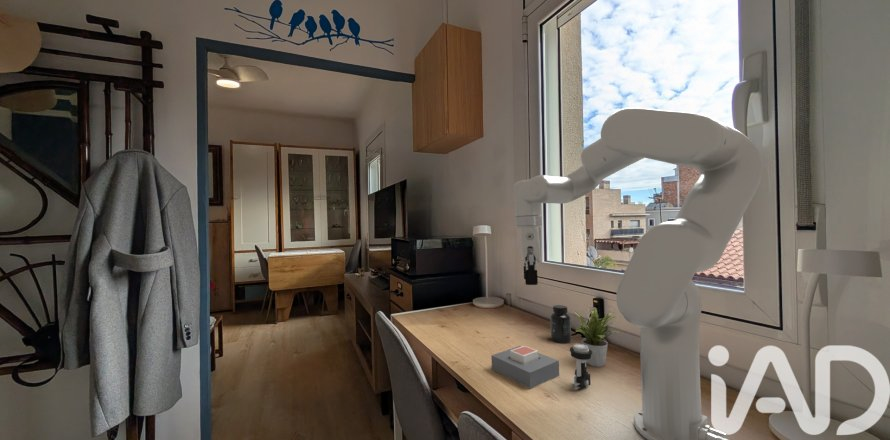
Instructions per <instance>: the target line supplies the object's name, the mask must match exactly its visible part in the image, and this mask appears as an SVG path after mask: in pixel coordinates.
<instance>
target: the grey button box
mask: <svg viewBox="0 0 890 440" xmlns="http://www.w3.org/2000/svg"><path fill="white" fill-rule="evenodd" d="M519 347H522V345H519V346H516V347H512V348H509V349H507V350H503V351H501V352H497V353H494V354H492V355H491V370H493V372H496V373H498V374H501V375H503V376H504V377H506V378H508V379H510V380H512V381H515V382H516V383H518V384H520V385H522V386H524V387H526V388H528V389H533V388H535V387H538V386H540V385H541V384H543V383H546V382H547V381H548V382H549V381H550V380H552V379H554V378H558V377H559V376H560V360H558V359H556V358H553V357H550V356H547V355H545V354H543V353H540V352H538V360H535V361H533V362H530V363H528V364H525V365H524V364H521V363H519V362H517V361H514V360H512V359H510V350H513V349H516V348H519Z"/></svg>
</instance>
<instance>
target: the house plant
mask: <svg viewBox="0 0 890 440" xmlns="http://www.w3.org/2000/svg"><path fill="white" fill-rule="evenodd" d="M588 310H589V312H590V320H589V321H588V322H587V323H586V320H585V319H584V318H583V317H582V315H581V314H579V313H578V312H576V311H575V310H572V312H574V313H575V314H576V315H577V316H578V317H577V316H575V318H576V319H577V320H579V322H580V328H579V327H575V331H574V332H580V333H581V334H582V335H583V336H584V338H583V339H581V344H584V345H587V346H588V348H589V349H590V350H592V354H591V359H588V360H586V365H588V366H589V365H590V366H591V367H596V368H597V367H598V368H600V367H604V366H605V364H606V359H607V352H608V345H609V344H608V343H609V342H607V341H606V340H605V339H606V338H607V337H609V336H611V335H612V334H615V335H617V333H619V331H618V330H617V331H612V330H606V329H607V327H608V326H609V325H611V324H614V323H615V324H616V323H617V322H616V321H612V322H609V321H611V320H612V319H615V318H617V316H612V314H614V311H613V312H610V313H608V314H605V316H604V317H603V318H599V313H598V309H597V308H596V307H595V308H594V309H592V310H591V309H590V308H588ZM607 322H609V323H607ZM607 333H608V334H607ZM605 334H607V335H605Z"/></svg>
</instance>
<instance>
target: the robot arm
mask: <svg viewBox="0 0 890 440" xmlns="http://www.w3.org/2000/svg"><path fill="white" fill-rule="evenodd" d="M643 159H649V160H655V161H658V162H663V163H667V164H672V165H676V166H680V167H685V168H690V169H696V170H697V171H699V175H698V176H699V177H698V179H697V181H696V182H695V183H694V185H692V187H691V188H690V190H689V191H688V193H687V195H686V196H685V199H684V201H683V203H682V205H681V207H680V209H679V211H678V213H677V214H676V216H675V218H674V219H673V220H669V221H668V220H667V221H664V222H660V223H657V224H655V225H654V226H652V227H651V228H649V229H648V230H646V232H645V233H644V234H643V235H642V237H640V240H639V241H638V243H637V245H636V247H635V249H634V251H633V253H632V256H631V258H630V259H629V262H628V264H627V266H626V268H625V271H624V272H623V275H622V277H621V279H620V282H619V283H618V286H617V289H616V296H615V297H616V306H617V308H618V310H619V313H620V314H621V317H622V318H624V319H625V321H627V322H629V323H630V324H632V325H634V326H636V327H637V328H640V330H639V331H640V333H639V346H640V347H639V353H640V355H639V358H640V382H641V383H640V384H641V386H640V387H641V406H642V407H641V409H642V410H640V411H637V412H636V413H635V414H634V416H633V424H634V427H635V429H636V431H637V432H638V433H639V434H640V435H641V436H642V437H643V438H645V440H729V439H728V433H727V432H724V431H722V430H720V429H716V428H713V427H712V426H711V425H710V424H708V419H709V418H708V416H706V415H704V414H702V395H701V394H702V393H701V389H702V388H701V372H700V371H701V370H700V369H701V368H700V324H701V315H702V296H701V293H700V290H699V288H698V286H697V285H696V283H695V282H694V281H693V277H694V276H695V274H696V273H701V272H703V271H707V270H709V269H711V268H713V267H715V266H716V265H717V263H718V262H719V261H720V260H721V258H722V256H723V255H724V253H725V250H726V248H727V246H728V244H729V242H730V240H731V239H732V237H733V235H734V233H735V232H736V229H738V227H739V225H740V223H741V221H742V218H743V216H744V214H745V213H746V211H747V209H748V207H749V205H750V204H751V201H752V199H753V198H754V196H755V195H756V192H757V190H758V188H759V186H760V184H761V180H762V177H763V171H764V163H763V162H764V161H763V157H762V153H761V152H760V150H759V148H758V147H757V145H756V144H755V143H754V142H753V141H752V140H751V139H750V138H749V137H748V136H747V135H745V134H744V133H742V132H741V131H739V130H738V129H736V128H735V127H734V126H731V125H730V124H727V123H724V122H723V121H719V120H717V119H715V118H713V117H710V116H708V115H705V114H702V113H701V114H700V113H695V112H688V111H678V110H677V111H676V110H675V111H674V110H663V109H653V108H644V107H643V108H641V107H634V106H632V107H625V108H620V109H619V110H616V111H615V112H613V113H612V114H611V115H609V116H608V117H607V118H606V120H605V121H604V122H603V124H602V126H601V129H600V138H599V139H597V140H596V141H594V142H593V143H591V144H589V145H588V146H585V148H584V149H583V150H582V152H581V154H580V160H581V164H582V165H581V166H580V167H579V168H577V169H576V170H575V171H573V172H571V173H569V174H567V175H565V176H561V175H560V176H557V175H547V174H538V175H536V176H533V177H531V178H529V179H522V180H518V181H516V182H515V183H514V185H513V197H514V198H513V201H514V225H515V229H519V242H520V243H519V246H520V254H521V260H522V262H523V265H524V266H523V279H524V280H525V285H526V286H537V285H538V283H539V281H538V269H537V262H538V263H541V262H542V259H541V242H540V231H539V228H542V227H543V223H542V218H543V217H542V204H559V205H560V204H562V205H563V204H567V203H571V202H573V201H575V200H577V199H579V198H582V197H584V196H586V195H587V194H590V193H591V192H592V191H594V190H595V189H596V188H597V187H598V186H599V185H600V184H601V183H602V181H604V179H606V178H608V177H610V176H612V175H613V174H615V173H618V172H619V171H621V170H623V169H625V168H627V167H629V166H631V165H633V164H636V163H637V162H639V161H641V160H643ZM536 261H537V262H536Z"/></svg>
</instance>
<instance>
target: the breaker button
mask: <svg viewBox="0 0 890 440" xmlns="http://www.w3.org/2000/svg"><path fill="white" fill-rule="evenodd" d="M538 353H539V350H537V349H534V348H531V347H529V346H526V345H521V347H519V348H516V349H513V350H510V359H512V360H514V361H517V362H519V363H521V364H524V365H525V364H528V363H530V362H533V361H535V360H538Z"/></svg>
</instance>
